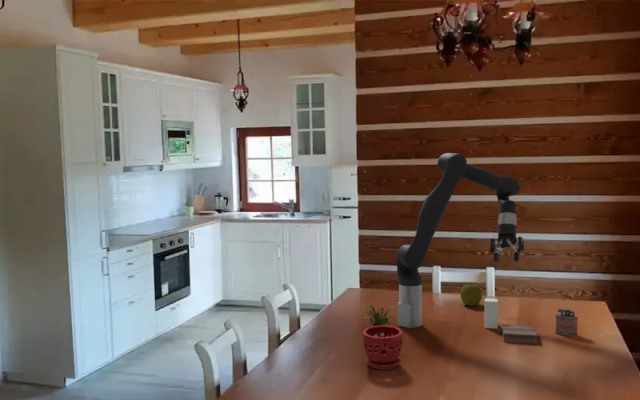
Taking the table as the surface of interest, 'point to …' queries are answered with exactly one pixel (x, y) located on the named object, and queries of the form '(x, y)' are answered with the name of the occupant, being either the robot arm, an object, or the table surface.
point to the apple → (471, 294)
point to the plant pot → (383, 346)
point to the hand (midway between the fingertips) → (506, 262)
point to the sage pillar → (491, 313)
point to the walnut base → (519, 334)
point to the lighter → (566, 323)
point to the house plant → (378, 317)
